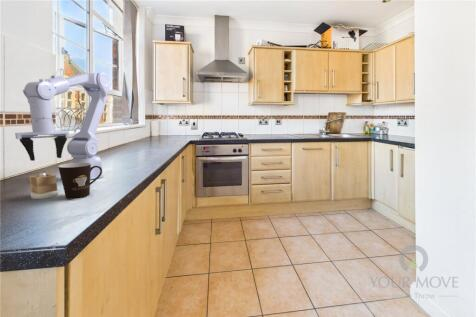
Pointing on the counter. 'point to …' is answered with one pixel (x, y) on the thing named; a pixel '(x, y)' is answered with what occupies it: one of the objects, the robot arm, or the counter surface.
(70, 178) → the coffee mug
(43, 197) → the lacing stand
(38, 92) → the robot arm
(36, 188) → the hollow wooden cube
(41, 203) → the counter surface
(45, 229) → the counter surface
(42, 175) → the silver metal cylinder
